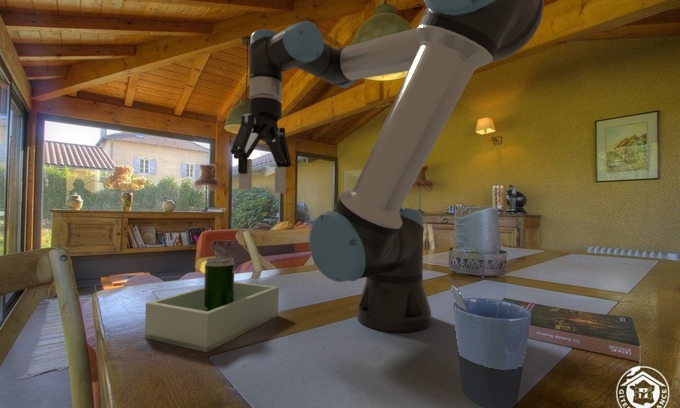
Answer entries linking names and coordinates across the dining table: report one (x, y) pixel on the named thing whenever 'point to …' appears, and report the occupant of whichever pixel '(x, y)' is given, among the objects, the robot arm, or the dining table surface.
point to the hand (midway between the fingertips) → (263, 191)
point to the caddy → (209, 316)
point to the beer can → (218, 282)
